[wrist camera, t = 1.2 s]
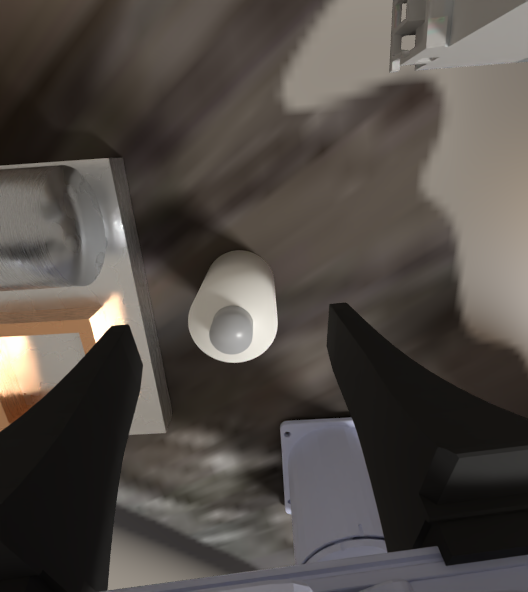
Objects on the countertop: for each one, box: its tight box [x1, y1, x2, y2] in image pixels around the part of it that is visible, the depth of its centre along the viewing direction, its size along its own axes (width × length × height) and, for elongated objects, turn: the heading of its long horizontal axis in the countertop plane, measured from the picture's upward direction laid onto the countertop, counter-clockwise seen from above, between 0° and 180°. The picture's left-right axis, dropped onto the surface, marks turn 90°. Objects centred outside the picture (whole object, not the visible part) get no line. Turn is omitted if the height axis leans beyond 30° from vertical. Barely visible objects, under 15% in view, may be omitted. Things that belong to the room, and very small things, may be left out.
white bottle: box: [188, 250, 278, 363], centre depth 20 cm, size 4×4×7 cm
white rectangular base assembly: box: [0, 158, 173, 435], centre depth 20 cm, size 18×12×8 cm, turn 4°
